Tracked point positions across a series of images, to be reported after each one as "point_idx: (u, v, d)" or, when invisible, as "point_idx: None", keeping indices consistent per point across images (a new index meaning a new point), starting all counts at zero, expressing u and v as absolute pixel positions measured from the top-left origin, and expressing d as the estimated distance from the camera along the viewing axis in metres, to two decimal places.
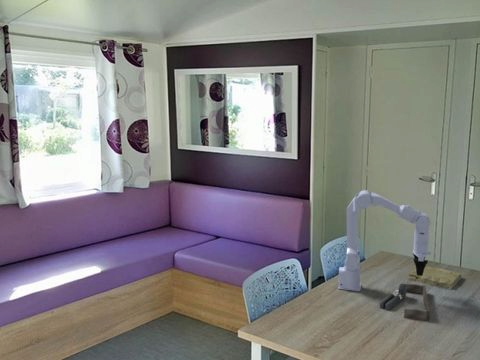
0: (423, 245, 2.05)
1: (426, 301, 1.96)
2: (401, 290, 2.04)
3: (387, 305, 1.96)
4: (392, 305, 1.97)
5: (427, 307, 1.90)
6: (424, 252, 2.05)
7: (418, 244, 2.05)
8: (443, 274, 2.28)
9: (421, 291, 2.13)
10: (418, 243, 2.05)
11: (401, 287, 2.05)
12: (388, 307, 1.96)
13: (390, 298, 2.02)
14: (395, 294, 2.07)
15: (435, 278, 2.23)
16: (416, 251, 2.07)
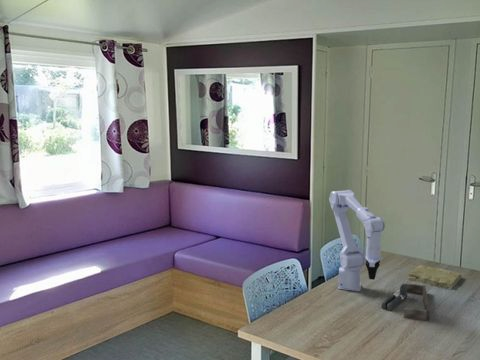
0: (375, 250, 2.00)
1: (426, 301, 1.96)
2: (402, 290, 2.04)
3: (389, 306, 1.95)
4: (394, 306, 1.97)
5: (427, 307, 1.90)
6: (376, 257, 2.01)
7: (370, 249, 2.01)
8: (443, 274, 2.28)
9: (421, 291, 2.13)
10: (370, 248, 2.01)
11: (402, 287, 2.04)
12: (390, 308, 1.95)
13: (392, 299, 2.01)
14: (396, 295, 2.06)
15: (435, 278, 2.23)
16: (368, 256, 2.02)
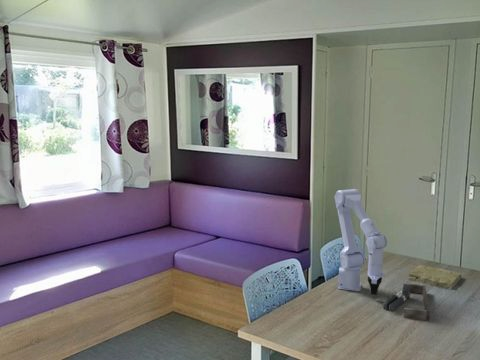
0: (377, 267, 2.01)
1: (426, 301, 1.96)
2: (405, 291, 2.03)
3: (390, 306, 1.95)
4: (396, 306, 1.96)
5: (427, 307, 1.90)
6: (378, 274, 2.02)
7: (372, 266, 2.02)
8: (443, 274, 2.28)
9: (421, 291, 2.13)
10: (372, 265, 2.02)
11: (405, 288, 2.04)
12: (391, 308, 1.95)
13: (394, 299, 2.01)
14: (399, 295, 2.06)
15: (435, 278, 2.23)
16: (370, 273, 2.03)
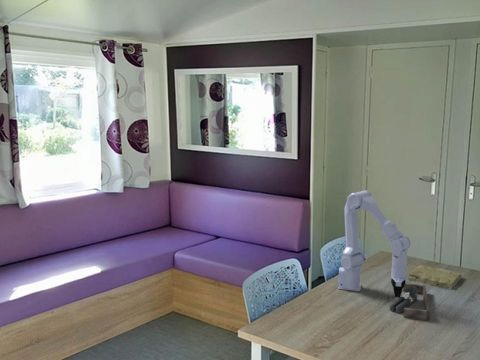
0: (401, 269, 1.98)
1: (426, 301, 1.96)
2: (412, 293, 2.01)
3: (397, 308, 1.93)
4: (403, 308, 1.95)
5: (427, 307, 1.90)
6: (402, 276, 1.99)
7: (396, 268, 1.99)
8: (443, 274, 2.28)
9: (421, 291, 2.13)
10: (396, 267, 1.99)
11: (412, 290, 2.02)
12: (398, 310, 1.93)
13: (401, 301, 1.99)
14: (406, 297, 2.04)
15: (435, 278, 2.23)
16: (394, 275, 2.00)
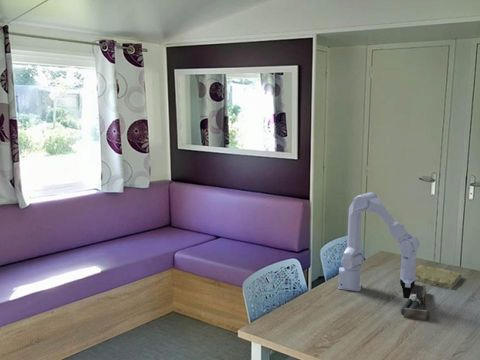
0: (410, 270, 1.97)
1: (426, 301, 1.96)
2: (419, 295, 1.99)
3: None
4: None
5: (427, 307, 1.90)
6: (411, 277, 1.98)
7: (405, 269, 1.98)
8: (443, 274, 2.28)
9: None
10: (405, 268, 1.98)
11: (419, 292, 2.00)
12: None
13: (409, 303, 1.97)
14: (413, 299, 2.02)
15: (435, 278, 2.23)
16: (403, 276, 1.99)
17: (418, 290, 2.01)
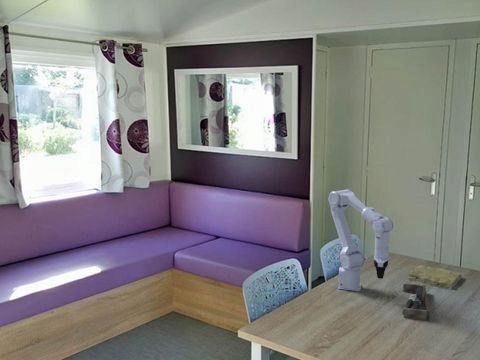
0: (383, 250, 2.00)
1: (426, 301, 1.96)
2: (420, 295, 1.99)
3: None
4: None
5: (427, 307, 1.90)
6: (384, 257, 2.01)
7: (378, 249, 2.01)
8: (443, 274, 2.28)
9: None
10: (378, 248, 2.01)
11: (419, 292, 2.00)
12: None
13: (411, 304, 1.96)
14: (413, 299, 2.02)
15: (435, 278, 2.23)
16: (376, 256, 2.02)
17: (418, 290, 2.01)
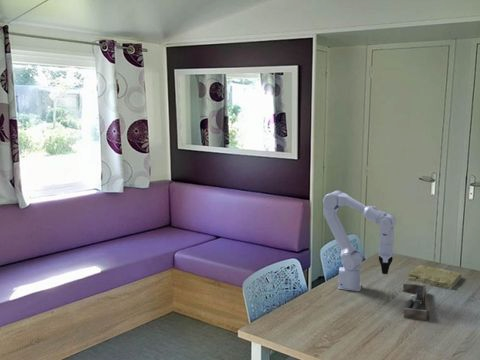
0: (388, 246, 2.05)
1: (426, 301, 1.96)
2: (420, 295, 1.99)
3: None
4: None
5: (427, 307, 1.90)
6: (389, 253, 2.06)
7: (383, 245, 2.06)
8: (443, 274, 2.28)
9: None
10: (383, 244, 2.06)
11: (420, 292, 2.00)
12: None
13: (411, 304, 1.96)
14: (413, 299, 2.02)
15: (435, 278, 2.23)
16: (381, 252, 2.07)
17: (418, 290, 2.01)
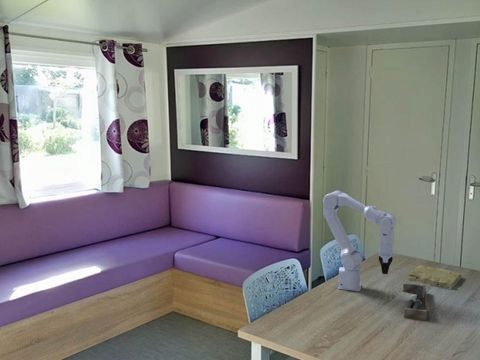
0: (388, 246, 2.05)
1: (426, 301, 1.96)
2: (420, 295, 1.99)
3: None
4: None
5: (427, 307, 1.90)
6: (389, 253, 2.06)
7: (383, 245, 2.06)
8: (443, 274, 2.28)
9: None
10: (383, 244, 2.06)
11: (420, 292, 2.00)
12: None
13: (412, 304, 1.96)
14: (413, 299, 2.02)
15: (435, 278, 2.23)
16: (381, 252, 2.07)
17: (419, 290, 2.01)
